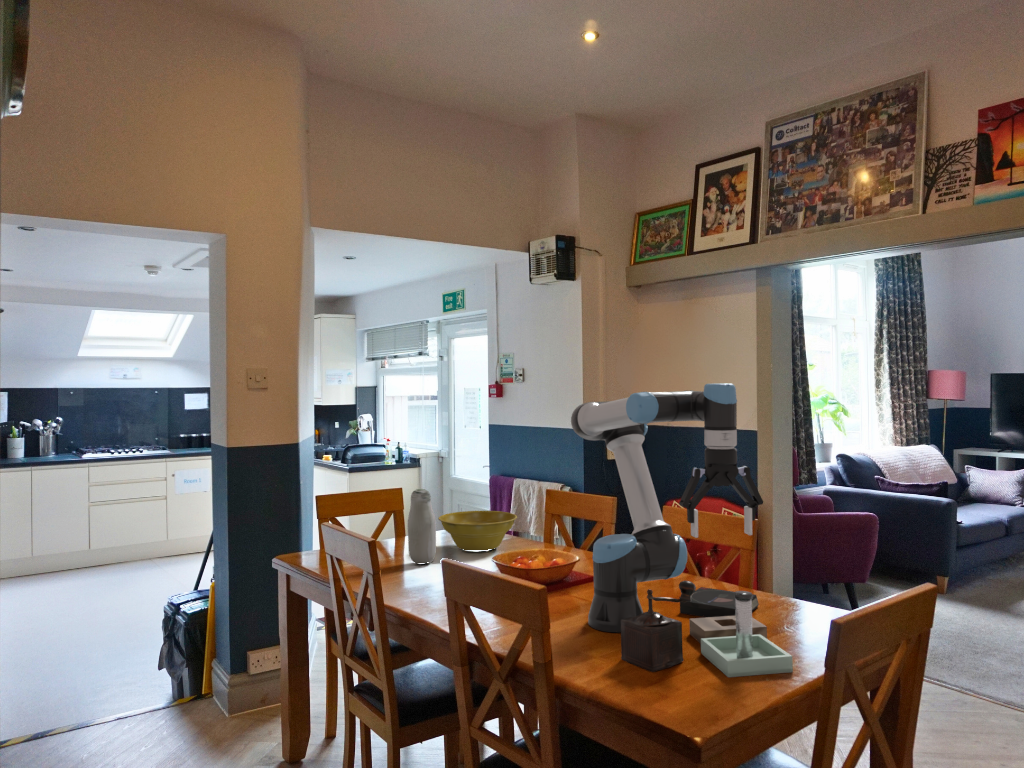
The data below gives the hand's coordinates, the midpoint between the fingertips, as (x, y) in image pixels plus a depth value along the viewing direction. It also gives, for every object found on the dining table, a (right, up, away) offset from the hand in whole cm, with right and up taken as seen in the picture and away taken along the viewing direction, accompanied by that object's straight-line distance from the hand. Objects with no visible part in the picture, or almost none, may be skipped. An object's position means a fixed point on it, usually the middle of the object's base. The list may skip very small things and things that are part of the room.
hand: (721, 535), depth 175 cm
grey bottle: (-84, -31, +98) cm, 133 cm away
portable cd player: (+9, -29, +31) cm, 43 cm away
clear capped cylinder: (+3, -27, -9) cm, 28 cm away
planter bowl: (-64, -31, +121) cm, 141 cm away
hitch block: (+4, -28, +8) cm, 29 cm away
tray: (+3, -27, -9) cm, 29 cm away
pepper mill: (-16, -28, -5) cm, 33 cm away
